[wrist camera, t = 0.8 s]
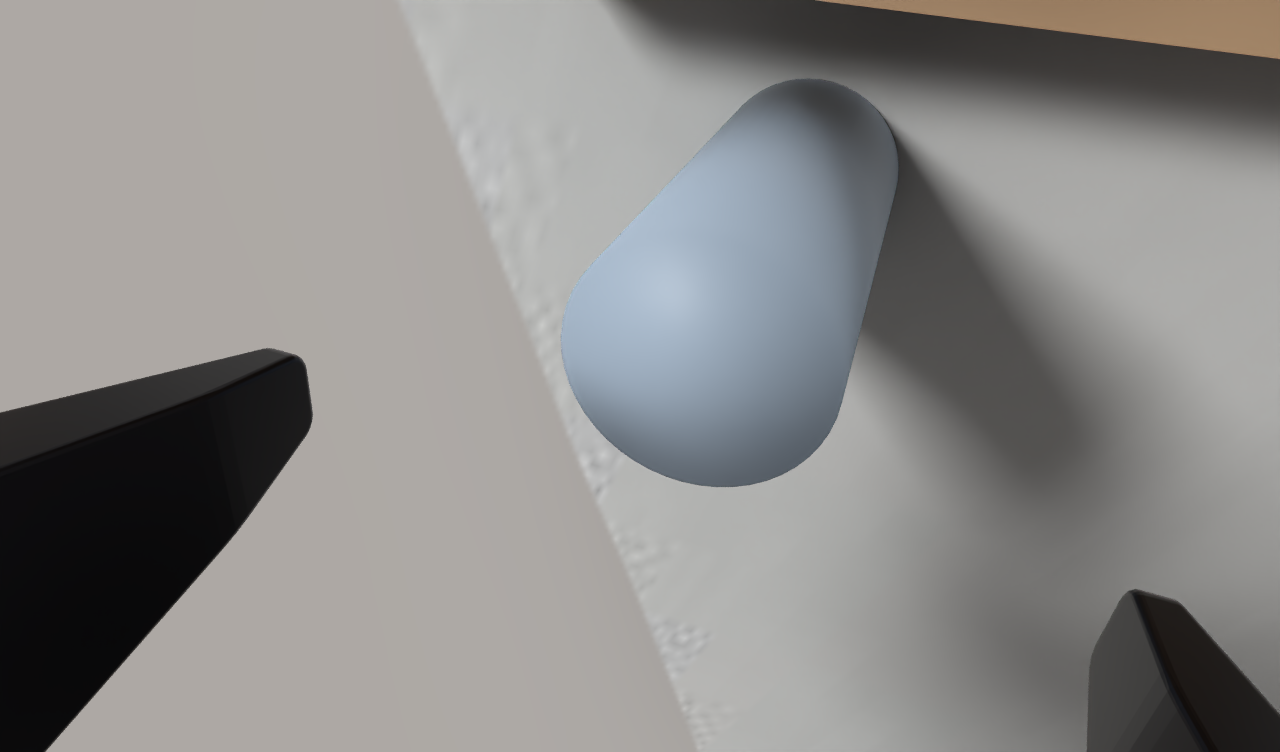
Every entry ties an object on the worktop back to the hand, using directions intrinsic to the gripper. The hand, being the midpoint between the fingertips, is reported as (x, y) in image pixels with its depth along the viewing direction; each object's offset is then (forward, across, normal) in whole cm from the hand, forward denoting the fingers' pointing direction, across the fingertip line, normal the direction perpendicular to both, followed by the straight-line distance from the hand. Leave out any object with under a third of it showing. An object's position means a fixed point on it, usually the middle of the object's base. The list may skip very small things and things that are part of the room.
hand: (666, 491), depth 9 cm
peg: (+12, 0, 0) cm, 12 cm away
